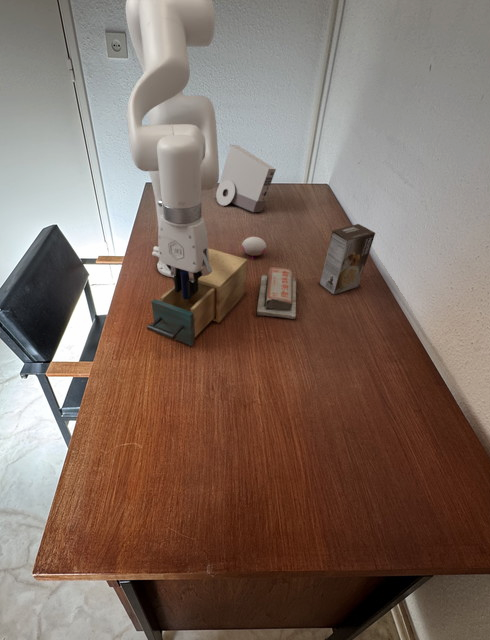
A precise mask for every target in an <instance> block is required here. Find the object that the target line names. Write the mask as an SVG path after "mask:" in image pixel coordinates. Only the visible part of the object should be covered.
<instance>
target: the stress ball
mask: <svg viewBox="0 0 490 640" xmlns="http://www.w3.org/2000/svg"><path fill="white" fill-rule="evenodd" d="M241 248H242V251H243V252H244V253H245V254H246V255H248V256H252V257H251V258H250V259H251V260H255V258H254V257H257V256H260V255H263V254H264V253H265V252H266V250H267V243H266V241H265V240H264V239H262V238H261V237H257V236H249V237H247V238H244V240H243V242H242V243H241Z"/></svg>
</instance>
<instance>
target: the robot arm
mask: <svg viewBox="0 0 490 640" xmlns="http://www.w3.org/2000/svg"><path fill="white" fill-rule="evenodd" d="M215 13H216V12H215V6H214V3H213V0H126V2H125V17H126V23H127V24H126V25H127V28H128V33H129V37H130V41H131V44H132V46H133V50H134V52H135V55H136V57H137V60H138V62H139V66H140V67H141V70H142V73H143V74H142V75H141V76H140V77H139V79H137V82H136V83H135V85H134V86H133V88H132V90H131V92H130V96H129V98H128V102H127V108H126V122H127V131H128V143H129V144H128V145H129V151H130V156H131V159H132V162H133V164H134V166H135V167H136V168H137V169H138V170H140V171H143V172H148V173H149V178H150V181H151V185H152V190H153V195H154V201H155V209H156V216H157V227H158V231H157V232H158V233H157V235H158V236H157V241H158V243H157V244H158V245H154V246H153V248H152V252H151V255H152V256H153V257H156V258H158V261H157V264H156V267H157V271H158V272H159V273H160V274H161V275H162V276H165V277H168V278H173V286H175V292H177V293H178V292H180V291H181V290H182V286H181V275H180V270H181V269H182V270H185V271H188V272H189V281H188V282H187V287H188V296H189V297H192V296H193V295H194V294H195V293H196V292H197V291H198V278H200V277H201V276H206V275H209V274H210V273H211V272H212V269H211V266H210V264H209V262H208V259H209V250H208V248H209V238H208V232H207V226H206V225H207V224H206V221H205V218H203V217H202V213H203V212H202V191H209V190H213V189H214V188H216V187H217V186H218V184H219V179H220V161H219V148H218V132H217V120H216V119H217V118H216V112H215V108H214V104H213V102H212V100H211V99H210V98H208V97H207V96H204V95H197V94H196V95H185V94H184V93H183V91H184V89H185V88H186V87H187V85H188V83H189V81H190V78H191V76H190V75H191V71H190V63H189V53H188V47H191V48H195V47H197V48H198V47H199V48H200V47H209V46H210V45H211V44H212V43H213V40H214V36H215V30H216V14H215ZM147 114H148V119H149V120H148V121H149V124H143V120H144V118H145V117H146V115H147ZM201 268H203V269H201Z"/></svg>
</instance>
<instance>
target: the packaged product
mask: <svg viewBox="0 0 490 640" xmlns="http://www.w3.org/2000/svg"><path fill="white" fill-rule="evenodd" d="M258 292H259V293H258V298H257V299H258V300H257V306H256V315H257V316H263V317H264V316H265V317H273V318H274V317H275V318H287V319H291V320H295V319H296V316H297V315H296V313H297V301H296V300H297V294H296V293H297V279H296V278H294V277H293V271H292V270H290V269H289V268H286V267H285V268H283V267H273V266H272V267H271V266H270V267H269V269H268V272H267V275H266V274H262V275H261V278H260V285H259V291H258Z"/></svg>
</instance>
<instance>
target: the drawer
mask: <svg viewBox="0 0 490 640" xmlns="http://www.w3.org/2000/svg"><path fill="white" fill-rule="evenodd" d="M216 297H217V288H214V287H211V286H207V285H204V284H201V283H198V291H197V292H196V293H195V294H194V295H193V296H192V297H191V299H183V297H182V290H181V291H180V292H178V293H177V292H175V285H173V286H172V287H170V288H169V290H167V291H166V292H165V293H164V294H163V295H161V296H160V299H157V298H153V299H152V300H151V310H152V316H153V322H152V323H148V324H147V325H146V330H147V331H149V332H151V333H155V334H157V335H159V336H162V337H164V338H167V339H170V340H172V341H174V340H175V341H177V342H181V343H183V344H185V345H189V346H193V345H195V338H196V337H197V336H198V335H199V334H201V332H202V331H203V330H204V329H205V328H206V327H207V326H208V325H209V324H210V323H211V322H212V321H213V320H212V319H213V318H214V317H215V316H216Z"/></svg>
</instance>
